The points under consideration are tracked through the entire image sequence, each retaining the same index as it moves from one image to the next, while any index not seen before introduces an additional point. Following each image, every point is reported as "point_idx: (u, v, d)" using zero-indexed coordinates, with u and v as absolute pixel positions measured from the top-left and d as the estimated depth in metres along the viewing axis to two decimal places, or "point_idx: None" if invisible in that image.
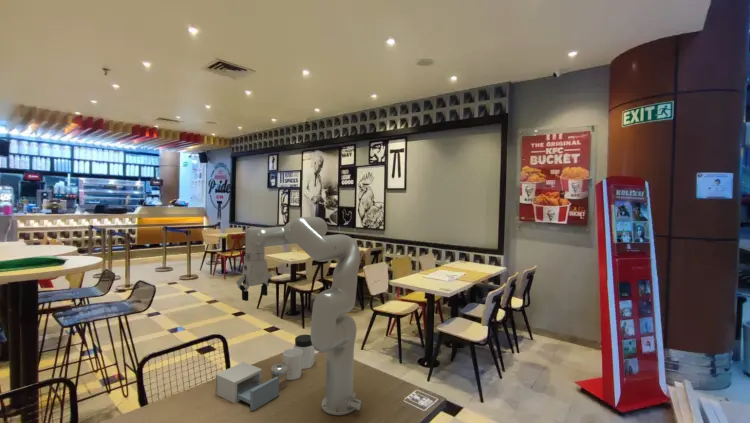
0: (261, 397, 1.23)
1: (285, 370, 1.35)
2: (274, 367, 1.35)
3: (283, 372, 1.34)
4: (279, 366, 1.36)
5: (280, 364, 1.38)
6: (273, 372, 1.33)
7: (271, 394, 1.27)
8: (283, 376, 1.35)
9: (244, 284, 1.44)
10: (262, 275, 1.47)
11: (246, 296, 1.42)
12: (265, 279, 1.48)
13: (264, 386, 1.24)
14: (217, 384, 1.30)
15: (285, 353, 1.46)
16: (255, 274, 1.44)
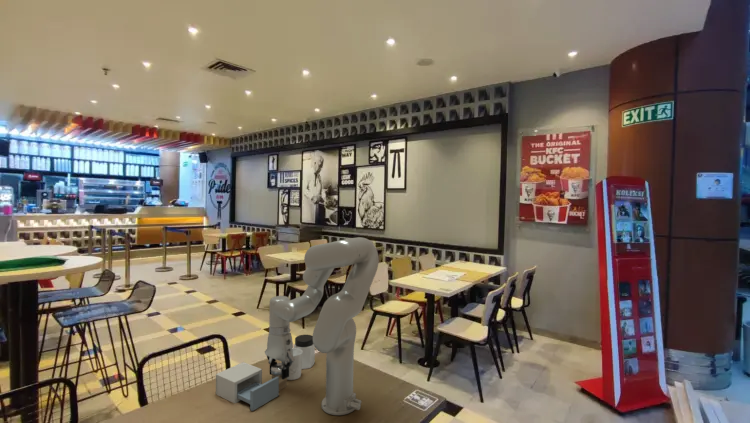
0: (261, 397, 1.23)
1: None
2: (274, 367, 1.35)
3: None
4: (279, 366, 1.36)
5: (280, 364, 1.38)
6: (273, 372, 1.33)
7: (271, 394, 1.27)
8: None
9: None
10: None
11: None
12: None
13: (264, 386, 1.24)
14: (217, 384, 1.30)
15: None
16: None
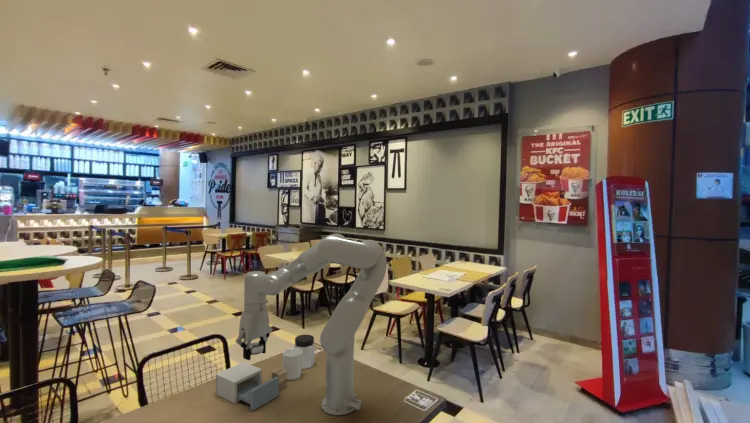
0: (261, 397, 1.23)
1: None
2: (256, 347, 1.26)
3: None
4: (255, 345, 1.28)
5: None
6: (260, 351, 1.26)
7: (271, 394, 1.27)
8: (283, 376, 1.35)
9: None
10: None
11: None
12: None
13: (264, 386, 1.24)
14: (217, 384, 1.30)
15: (285, 353, 1.46)
16: None
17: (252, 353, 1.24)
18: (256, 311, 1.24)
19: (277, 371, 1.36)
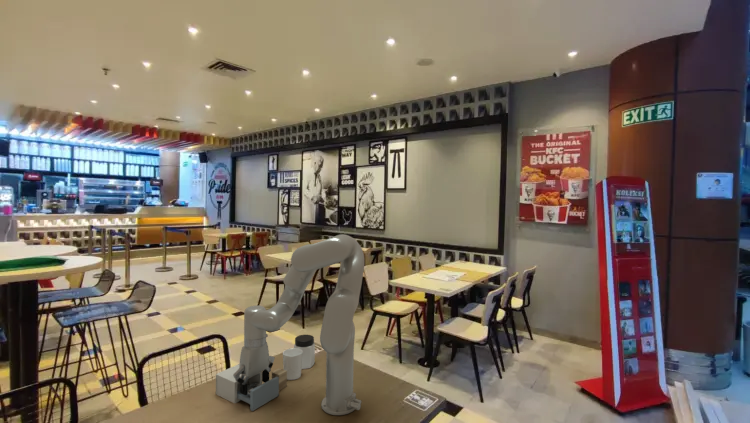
0: (261, 397, 1.23)
1: None
2: None
3: None
4: (255, 387, 1.28)
5: (250, 387, 1.28)
6: None
7: (271, 394, 1.27)
8: (283, 376, 1.35)
9: None
10: None
11: None
12: None
13: (264, 386, 1.24)
14: (217, 384, 1.30)
15: (285, 353, 1.46)
16: None
17: None
18: (256, 347, 1.24)
19: (277, 371, 1.36)
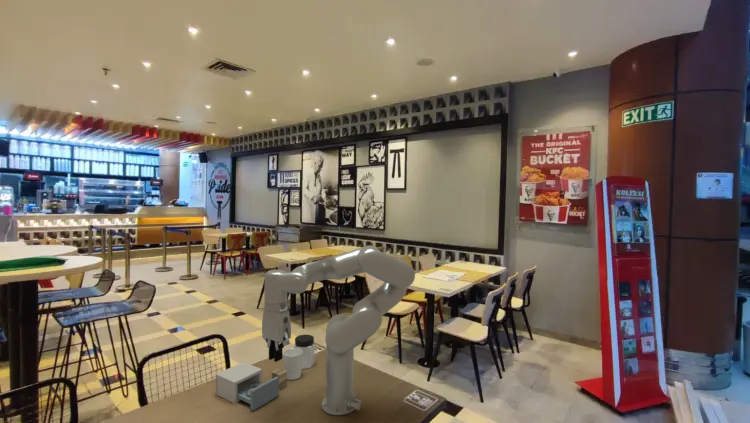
0: (261, 397, 1.23)
1: None
2: None
3: None
4: (255, 387, 1.28)
5: (250, 387, 1.28)
6: None
7: (271, 394, 1.27)
8: (283, 376, 1.35)
9: (278, 342, 1.20)
10: None
11: (281, 354, 1.22)
12: None
13: (264, 386, 1.24)
14: (217, 384, 1.30)
15: (285, 353, 1.46)
16: None
17: None
18: (264, 310, 1.20)
19: (277, 371, 1.36)
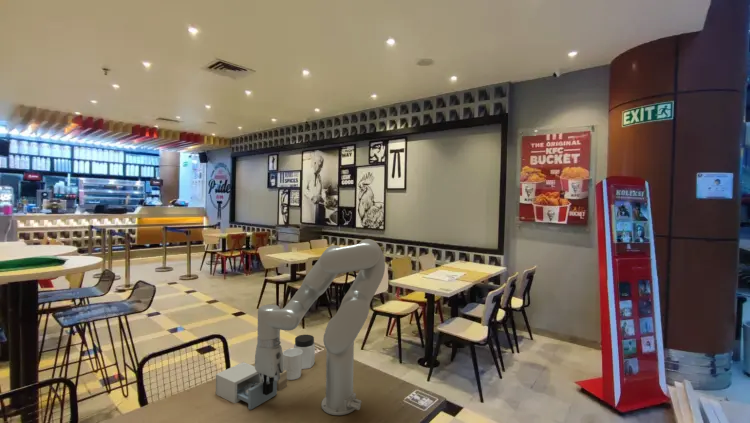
0: (259, 396, 1.23)
1: None
2: None
3: None
4: (253, 386, 1.28)
5: (248, 386, 1.28)
6: None
7: None
8: (283, 376, 1.35)
9: None
10: None
11: None
12: None
13: (262, 385, 1.24)
14: (217, 384, 1.30)
15: (285, 353, 1.46)
16: None
17: None
18: (257, 345, 1.22)
19: None
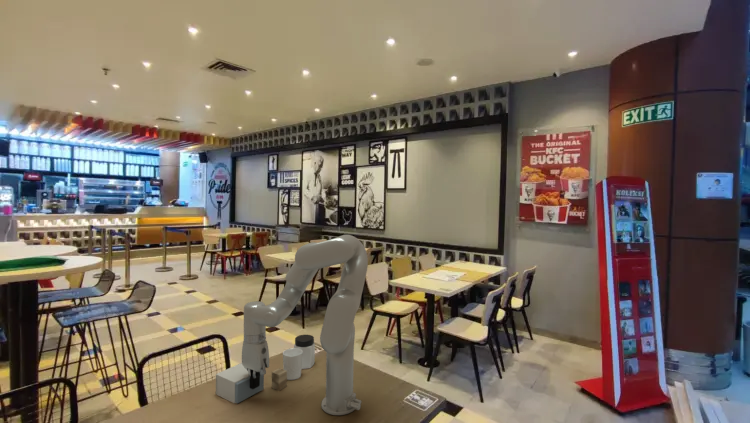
0: (246, 390, 1.27)
1: None
2: None
3: None
4: None
5: None
6: None
7: None
8: (283, 376, 1.35)
9: (256, 371, 1.26)
10: None
11: (258, 381, 1.28)
12: None
13: (249, 380, 1.28)
14: (217, 384, 1.30)
15: (285, 353, 1.46)
16: None
17: None
18: None
19: (277, 371, 1.36)
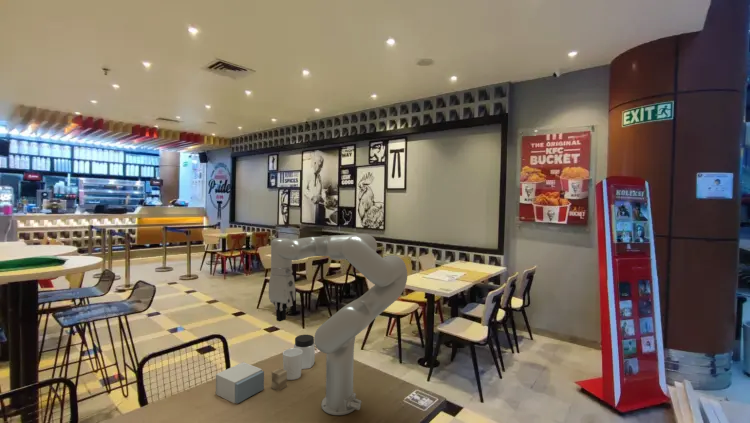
0: (246, 390, 1.27)
1: None
2: None
3: None
4: None
5: None
6: None
7: (256, 387, 1.31)
8: (283, 376, 1.35)
9: None
10: None
11: None
12: None
13: (249, 380, 1.28)
14: (217, 384, 1.30)
15: (285, 353, 1.46)
16: None
17: None
18: (271, 274, 1.30)
19: (277, 371, 1.36)
